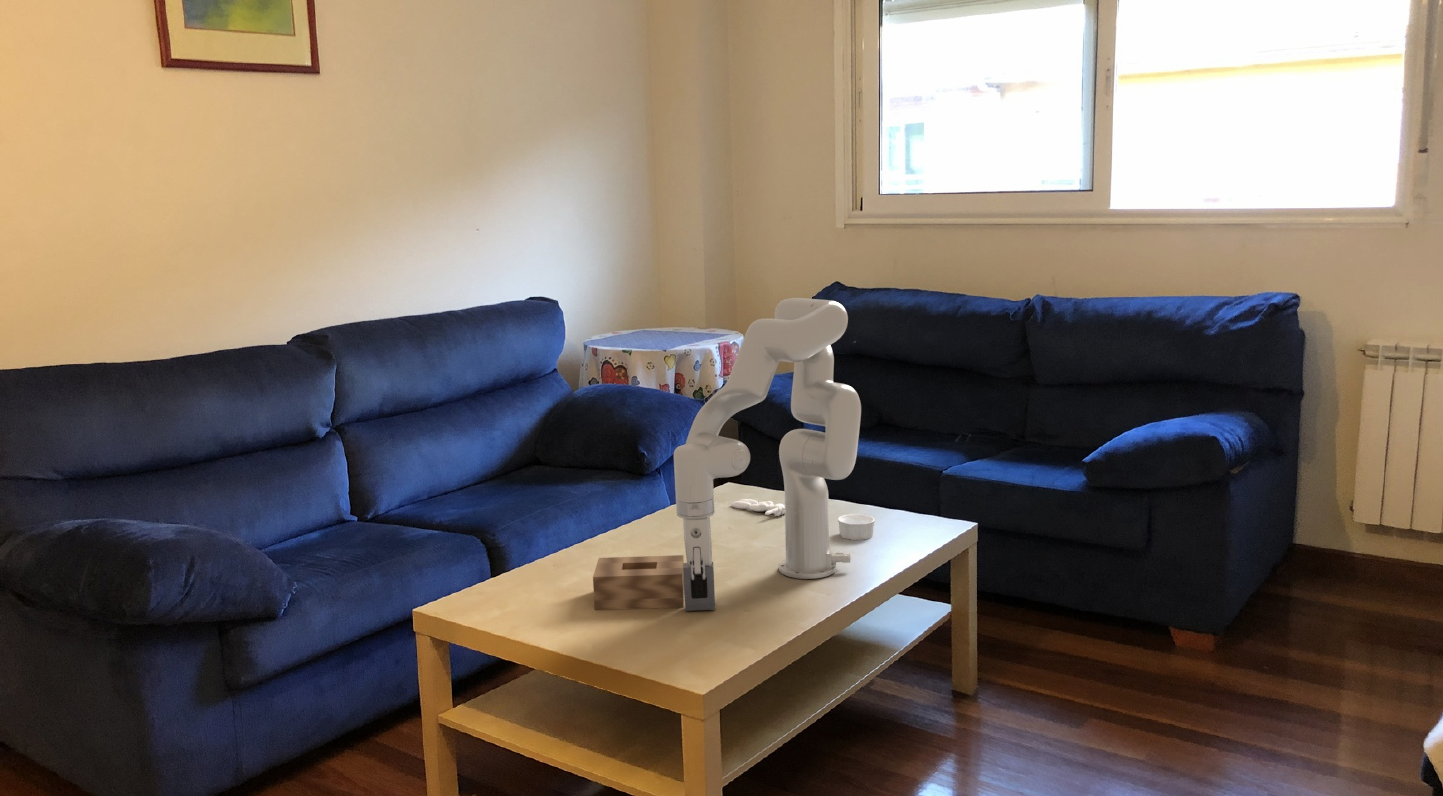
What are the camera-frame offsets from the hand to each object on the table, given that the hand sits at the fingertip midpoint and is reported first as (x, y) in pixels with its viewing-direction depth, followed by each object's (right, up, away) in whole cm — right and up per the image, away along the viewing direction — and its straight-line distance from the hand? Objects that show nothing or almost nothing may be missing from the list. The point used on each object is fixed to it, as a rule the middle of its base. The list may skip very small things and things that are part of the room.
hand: (699, 593), depth 221 cm
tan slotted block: (-12, -2, +8) cm, 15 cm away
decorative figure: (+14, +9, +69) cm, 71 cm away
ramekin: (+37, +6, +46) cm, 59 cm away
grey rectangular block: (0, -3, +1) cm, 3 cm away
